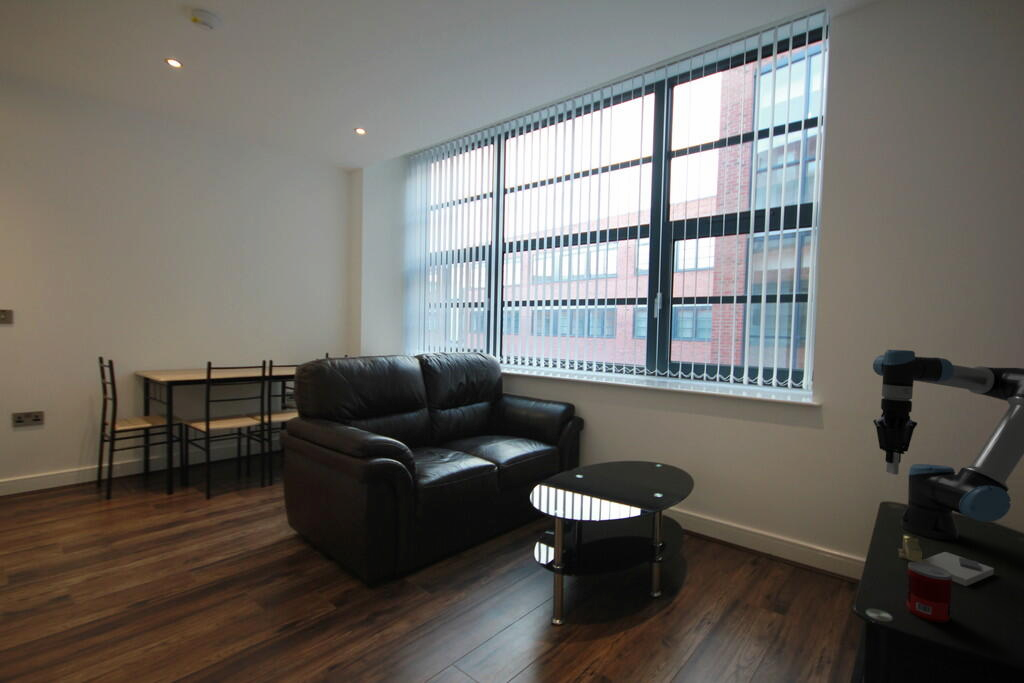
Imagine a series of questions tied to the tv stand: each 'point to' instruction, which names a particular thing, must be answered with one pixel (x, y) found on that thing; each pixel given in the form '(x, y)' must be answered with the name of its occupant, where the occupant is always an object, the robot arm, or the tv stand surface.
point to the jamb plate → (902, 554)
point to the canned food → (929, 591)
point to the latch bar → (912, 548)
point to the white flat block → (960, 568)
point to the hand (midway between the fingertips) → (892, 473)
